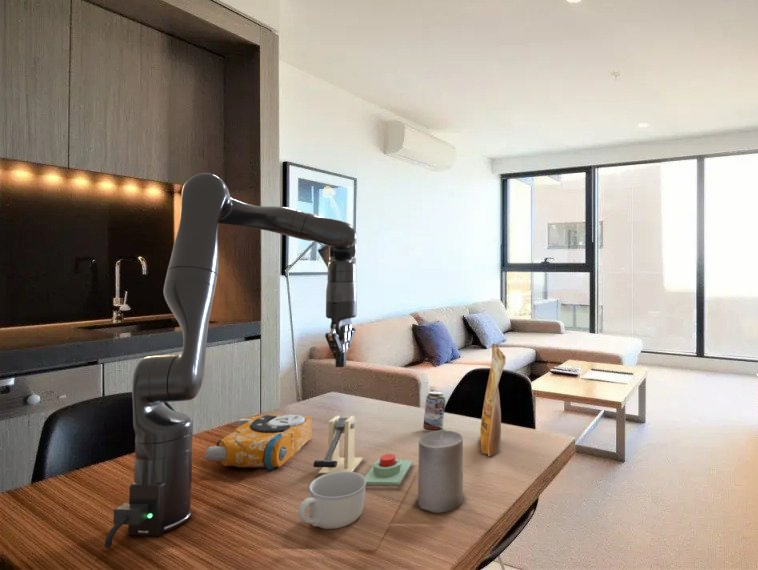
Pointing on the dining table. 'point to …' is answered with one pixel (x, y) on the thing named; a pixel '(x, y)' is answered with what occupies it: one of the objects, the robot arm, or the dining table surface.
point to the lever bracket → (349, 459)
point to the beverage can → (434, 411)
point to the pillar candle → (440, 471)
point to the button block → (388, 473)
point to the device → (262, 441)
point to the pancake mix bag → (492, 406)
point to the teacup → (334, 500)
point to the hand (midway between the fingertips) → (340, 366)
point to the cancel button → (387, 460)
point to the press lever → (332, 446)
